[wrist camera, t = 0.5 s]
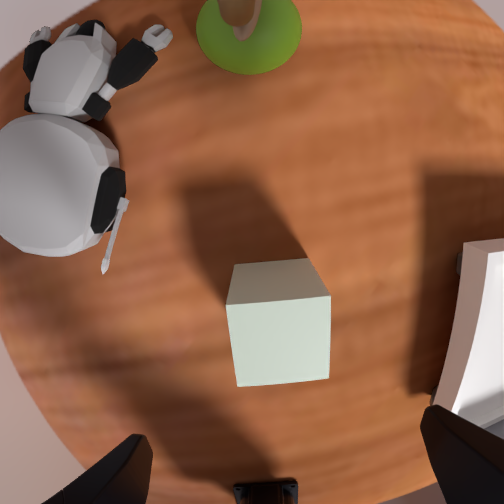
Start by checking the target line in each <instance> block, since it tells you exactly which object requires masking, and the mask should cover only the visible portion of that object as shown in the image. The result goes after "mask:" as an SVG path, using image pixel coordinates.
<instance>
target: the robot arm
mask: <svg viewBox="0 0 504 504" xmlns="http://www.w3.org/2000/svg"><path fill="white" fill-rule="evenodd" d="M420 430H421V433H422V436H423V440H424V443H425V446H426V450H427V453H428V457H429V460H430V463H431V466H432V469H433V471H434V473H435V476H436V478H437V481H438V483H439V485H440V488H441V490H442V493H443V495H444V498H445V500H446V503H447V504H504V439H502V438H501V437H499V436H497V435H495V434H493V433H491V432H489V431H487V430H485V429H483V428H481V427H479V426H477V425H475V424H474V423H472V422H470V421H468V420H466V419H464V418H462V417H460V416H459V415H457V414H455V413H453V412H451V411H449V410H447V409H446V408H444V407H442V406H440V405H438V404H435V405H432V406H429V407H427V408H426V409H425V411H424V414H423V417H422V420H421V424H420ZM152 459H153V452H152V449H151V447H150V444H149V442H148V440H147V438H146V436H145V435H143V434H131V435H130V436H129V437H128V438H126V439H125V440H124V441H123V442H122V443H120V444H119V445H118V446H117V447H116V448H114V449H113V450H112V451H111V452H109V453H108V454H107V455H106V456H104V457H103V458H102V459H101V460H99V461H98V462H97V463H96V464H94V465H93V466H92V467H91V468H89V469H88V470H87V471H85V472H84V473H83V474H82V475H81V476H79V477H78V478H77V479H75V480H74V481H73V482H71V483H70V484H69V485H67V486H66V487H65V488H63V490H60V491H59V492H58V493H56V494H55V495H54V496H52V497H51V498H49V499H48V500H46V501H45V502H43V503H42V504H145V503H146V499H147V495H148V490H149V482H150V474H151V466H152ZM233 490H234V494H235V497H236V500H237V503H238V504H298V482H296V481H289V482H276V483H260V484H235V485H234V486H233Z"/></svg>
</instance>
